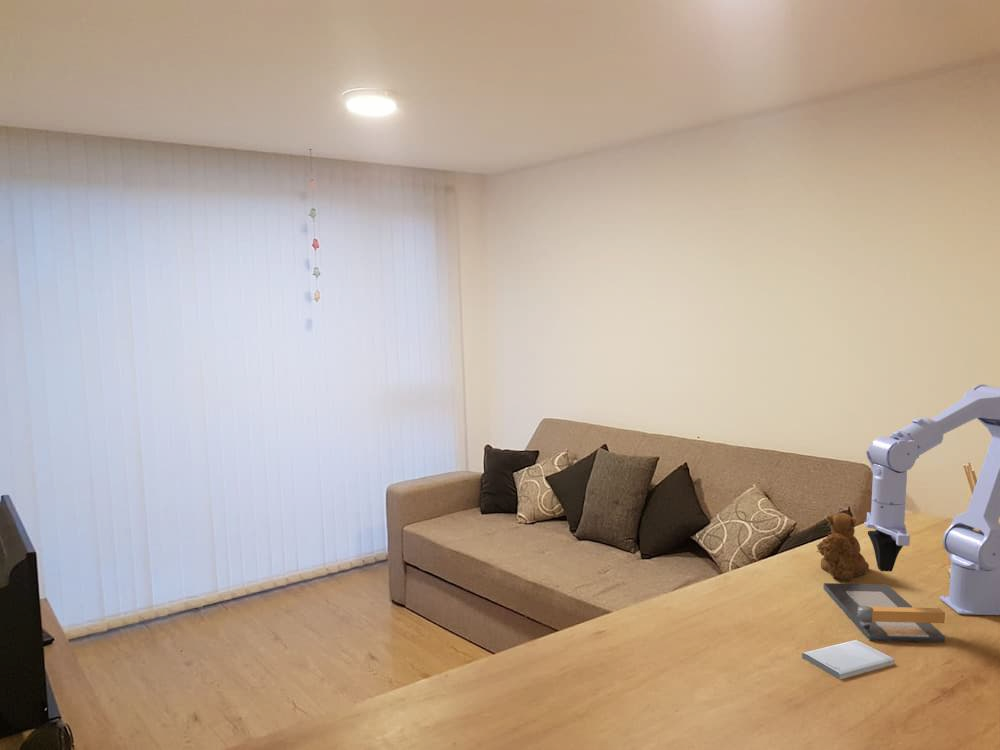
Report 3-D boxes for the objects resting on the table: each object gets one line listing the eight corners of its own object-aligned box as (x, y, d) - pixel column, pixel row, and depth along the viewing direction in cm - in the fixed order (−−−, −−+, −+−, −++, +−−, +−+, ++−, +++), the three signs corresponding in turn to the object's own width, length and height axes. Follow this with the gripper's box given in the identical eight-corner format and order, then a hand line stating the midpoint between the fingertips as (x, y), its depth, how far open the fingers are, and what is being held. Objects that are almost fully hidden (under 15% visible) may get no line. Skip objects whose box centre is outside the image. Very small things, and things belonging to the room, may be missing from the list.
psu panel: (887, 590, 159) (887, 579, 159) (946, 643, 135) (946, 631, 135) (821, 588, 160) (822, 578, 160) (868, 641, 136) (869, 629, 136)
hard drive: (840, 673, 123) (894, 658, 128) (801, 651, 130) (854, 637, 135) (839, 683, 123) (894, 667, 128) (801, 661, 130) (854, 646, 135)
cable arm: (860, 621, 138) (861, 611, 138) (855, 615, 141) (855, 605, 141) (945, 624, 137) (945, 613, 137) (938, 617, 140) (938, 607, 139)
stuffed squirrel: (869, 568, 172) (872, 511, 170) (861, 588, 160) (864, 528, 159) (822, 560, 177) (824, 505, 176) (811, 579, 165) (813, 521, 164)
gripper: (852, 490, 151) (849, 556, 152) (882, 511, 137) (878, 584, 138) (888, 491, 150) (885, 557, 152) (923, 512, 136) (919, 585, 137)
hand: (885, 570), depth 145 cm, fingers closed
